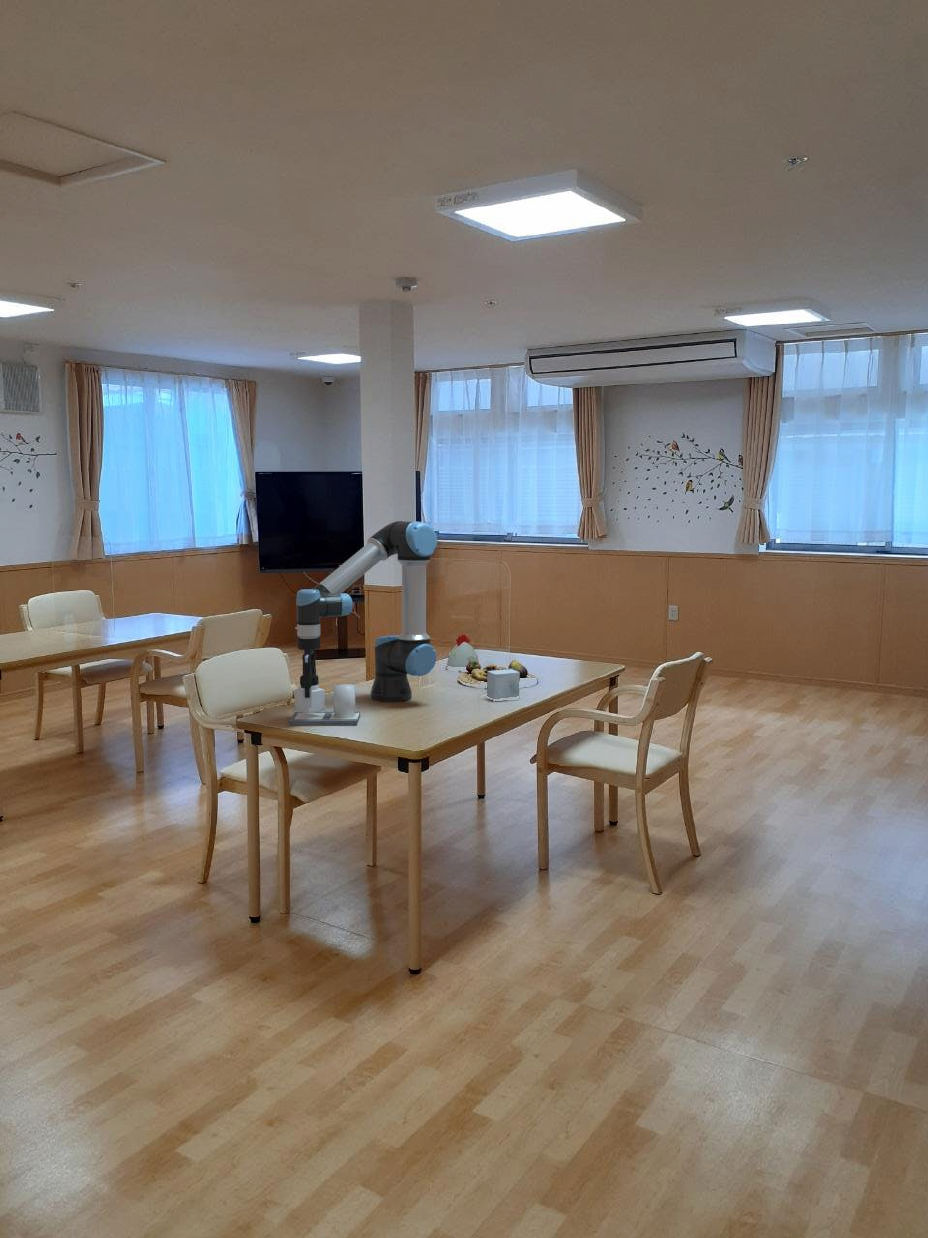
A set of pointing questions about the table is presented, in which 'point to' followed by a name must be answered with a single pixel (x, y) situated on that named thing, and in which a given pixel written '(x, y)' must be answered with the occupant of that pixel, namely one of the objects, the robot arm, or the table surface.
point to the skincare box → (503, 683)
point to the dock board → (322, 719)
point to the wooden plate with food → (481, 675)
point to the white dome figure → (462, 653)
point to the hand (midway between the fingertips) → (309, 703)
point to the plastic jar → (344, 701)
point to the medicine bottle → (317, 697)
